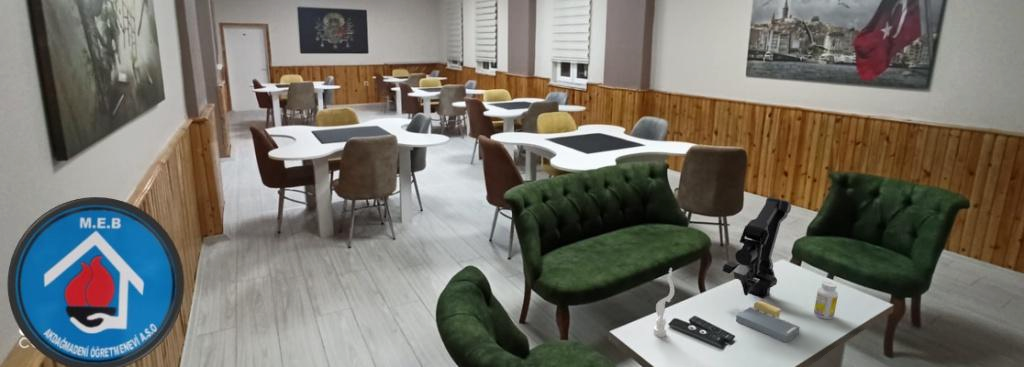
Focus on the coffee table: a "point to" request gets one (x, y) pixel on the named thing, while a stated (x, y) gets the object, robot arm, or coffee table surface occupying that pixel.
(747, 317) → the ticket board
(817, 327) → the coffee table surface
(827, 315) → the supplement bottle
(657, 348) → the coffee table surface
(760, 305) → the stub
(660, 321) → the decorative finial
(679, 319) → the coffee table surface
